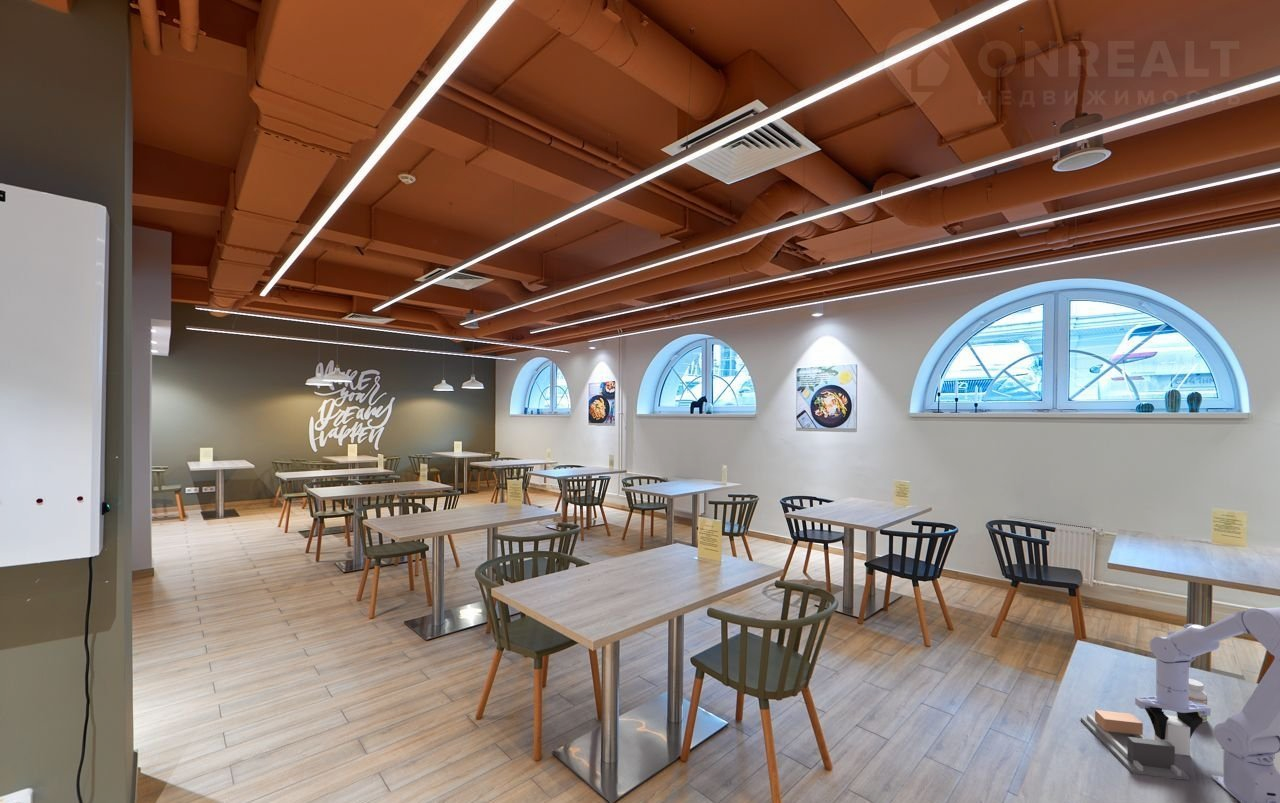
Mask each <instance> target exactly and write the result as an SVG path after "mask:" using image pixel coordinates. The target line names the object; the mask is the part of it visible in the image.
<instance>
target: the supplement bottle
mask: <svg viewBox="0 0 1280 803" xmlns="http://www.w3.org/2000/svg"><path fill="white" fill-rule="evenodd" d="M1204 686H1205V685H1204V683H1202V682H1201V681H1199V680H1196V679H1194V678H1189V701H1191V702H1196V703H1202V704H1205V705H1206V706H1208V694H1207V693H1206V692H1205V691H1204V688H1205V687H1204ZM1198 715H1199V716H1200V717H1201V718H1202V719H1203V723H1206V722H1208V716H1207V715H1204V714H1201V713H1198Z"/></svg>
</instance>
